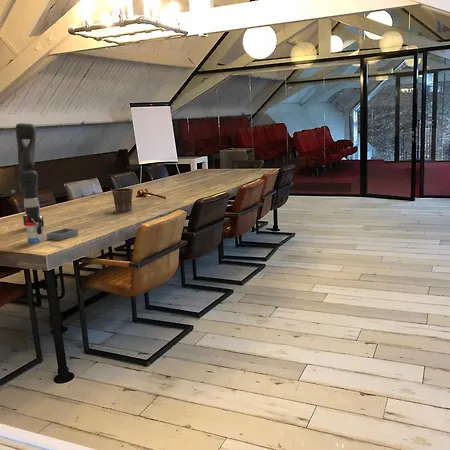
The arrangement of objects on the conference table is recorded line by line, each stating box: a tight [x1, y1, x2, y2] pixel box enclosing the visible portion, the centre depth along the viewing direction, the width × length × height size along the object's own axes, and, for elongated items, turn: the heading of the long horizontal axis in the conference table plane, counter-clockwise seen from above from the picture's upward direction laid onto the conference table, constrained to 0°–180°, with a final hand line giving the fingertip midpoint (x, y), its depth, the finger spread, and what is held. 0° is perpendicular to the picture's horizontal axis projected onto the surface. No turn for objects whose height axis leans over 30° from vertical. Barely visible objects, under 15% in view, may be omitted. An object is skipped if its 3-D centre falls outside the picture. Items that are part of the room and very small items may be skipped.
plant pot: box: [111, 187, 134, 213], centre depth 373 cm, size 16×16×16 cm
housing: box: [46, 227, 79, 242], centre depth 293 cm, size 11×15×4 cm
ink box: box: [25, 217, 45, 244], centre depth 283 cm, size 8×5×15 cm, turn 158°
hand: (34, 233), depth 284 cm, fingers open, 7 cm apart
